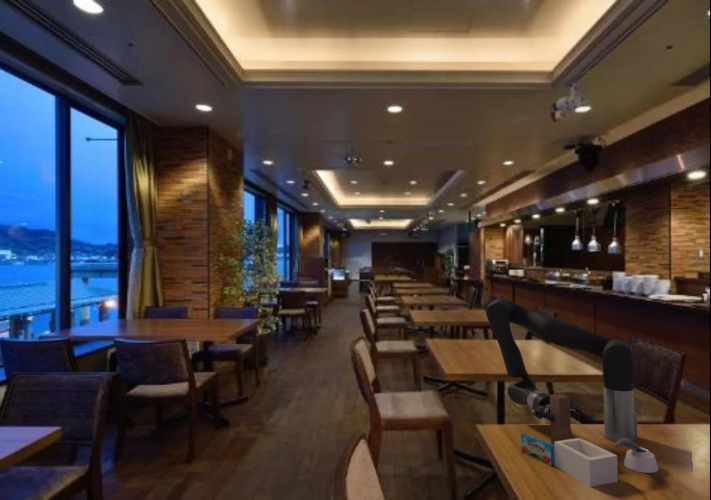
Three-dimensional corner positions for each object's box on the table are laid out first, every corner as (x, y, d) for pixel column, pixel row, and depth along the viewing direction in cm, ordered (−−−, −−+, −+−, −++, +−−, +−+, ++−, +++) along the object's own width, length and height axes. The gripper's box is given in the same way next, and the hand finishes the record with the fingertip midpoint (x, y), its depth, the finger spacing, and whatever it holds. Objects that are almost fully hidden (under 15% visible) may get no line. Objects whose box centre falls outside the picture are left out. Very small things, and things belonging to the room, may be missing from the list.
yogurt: (554, 465, 153) (554, 445, 153) (551, 466, 152) (550, 446, 152) (524, 452, 163) (524, 432, 163) (521, 452, 163) (520, 433, 163)
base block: (580, 462, 155) (580, 437, 155) (617, 482, 141) (617, 455, 141) (554, 466, 152) (554, 441, 152) (589, 487, 139) (589, 460, 139)
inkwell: (664, 468, 149) (664, 434, 149) (633, 484, 139) (632, 448, 139) (633, 458, 157) (632, 425, 157) (601, 472, 147) (600, 438, 147)
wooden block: (582, 458, 158) (581, 400, 158) (571, 460, 156) (570, 402, 156) (561, 447, 166) (560, 393, 166) (550, 449, 164) (549, 394, 164)
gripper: (522, 393, 176) (545, 408, 159) (561, 391, 177) (587, 405, 161) (523, 415, 176) (545, 431, 159) (561, 413, 177) (588, 429, 161)
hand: (566, 418), depth 160 cm, fingers open, 8 cm apart
